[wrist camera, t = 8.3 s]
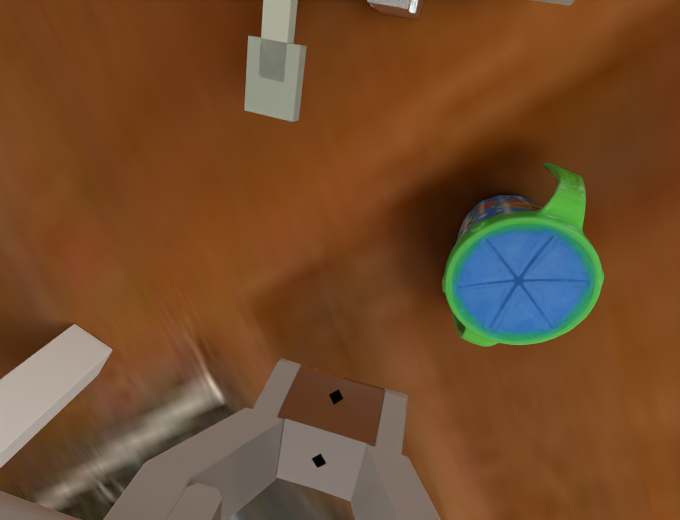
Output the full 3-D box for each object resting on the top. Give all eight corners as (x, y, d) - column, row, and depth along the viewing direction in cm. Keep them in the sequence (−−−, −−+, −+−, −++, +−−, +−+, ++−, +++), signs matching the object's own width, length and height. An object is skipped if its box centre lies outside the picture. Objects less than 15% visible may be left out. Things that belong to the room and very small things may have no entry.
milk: (62, 348, 59) (-124, 495, 40) (75, 322, 56) (-119, 465, 37) (100, 374, 60) (-65, 530, 40) (114, 349, 57) (-56, 504, 37)
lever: (618, -135, 21) (637, -167, 18) (511, 170, 28) (511, 183, 25) (266, -160, 26) (234, -189, 23) (251, 108, 33) (225, 113, 30)
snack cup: (500, 319, 43) (516, 389, 34) (408, 269, 43) (400, 327, 34) (614, 188, 36) (672, 234, 27) (504, 126, 35) (526, 153, 26)
